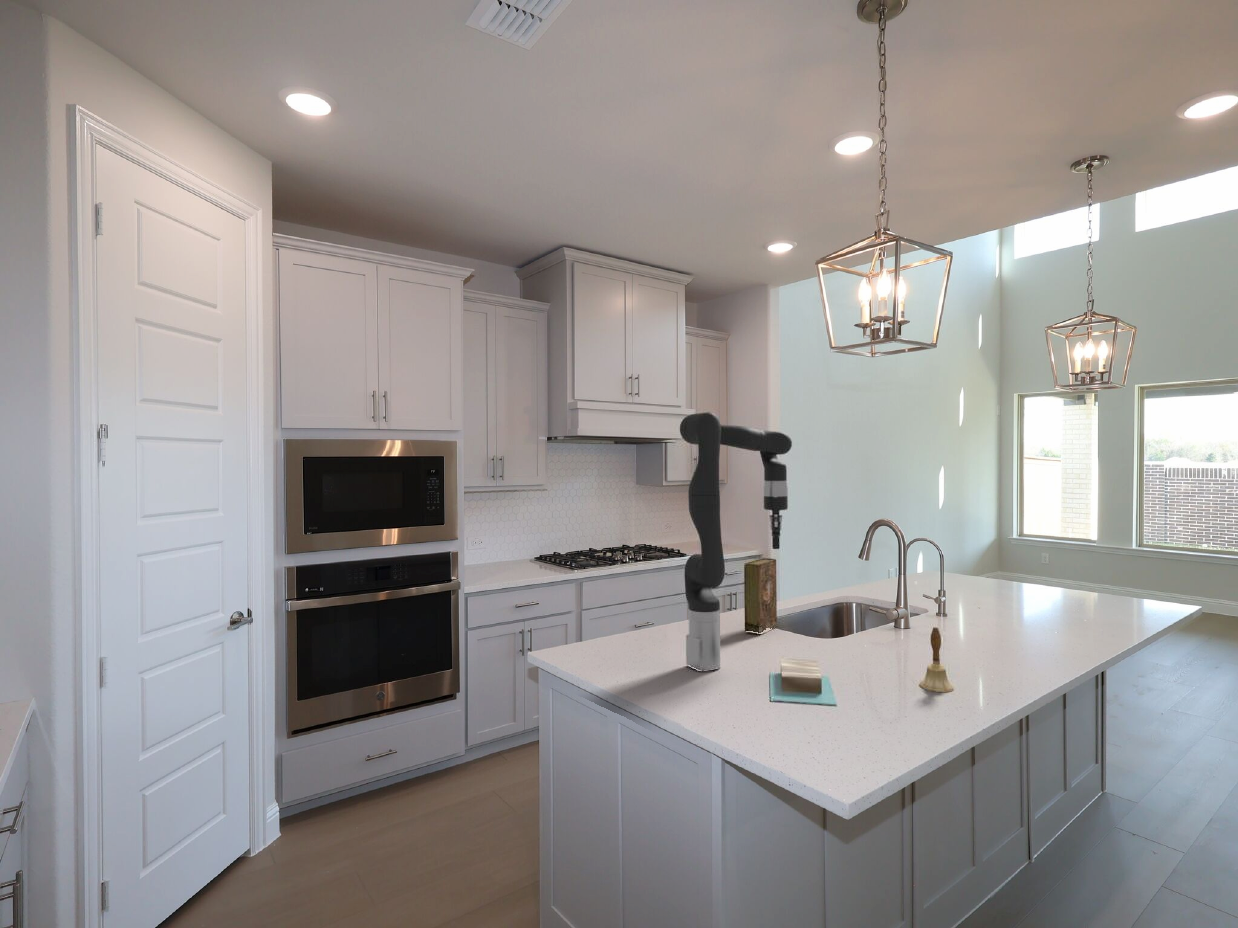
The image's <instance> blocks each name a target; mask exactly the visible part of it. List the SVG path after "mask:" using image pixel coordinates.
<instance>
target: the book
mask: <svg viewBox="0 0 1238 928" xmlns="http://www.w3.org/2000/svg"><path fill="white" fill-rule="evenodd" d="M743 573H744V578H743V581H744V583H743V586H744V587H743V588H744V589H743V591H744V593H743V594H744V595H743V596H744V632H745V631H753V632H758V633H761V632H763V631H764V630H766V628H770V629H771V628H772V630H774V629H776V628H778V621H777V620H778V618H777V617H778V609H777V605H778V604H777V602H778V601H777V595H778V594H777V593H778V592H777V559H776V558H770V557H769V558H767V557H766V558H765V557H763V558H759V559H756V560H751V561H748V562H744V566H743Z"/></svg>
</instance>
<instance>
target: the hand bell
mask: <svg viewBox="0 0 1238 928" xmlns="http://www.w3.org/2000/svg"><path fill="white" fill-rule="evenodd" d="M941 645H942V637H941V632H940V630H939V628H938V627H936V626H935V627H932V631H931V633H930V646H931V649H932V664H928V665H927V667H926V672H925V676H924V678H923V680H921V681H920V682H919V687H920V688H922V689H924V690H926V691H930V692H934V693H935V692H936V693H951V692H953V691H954V689H955V688H954V686H953V685H952V684H951V683H950V681H949V679H948V676H947V669H946V667H945V666H943V665H941V659H940V650H941ZM950 691H951V692H950Z"/></svg>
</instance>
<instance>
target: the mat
mask: <svg viewBox="0 0 1238 928" xmlns="http://www.w3.org/2000/svg"><path fill="white" fill-rule="evenodd" d="M771 673H772V674H770V673H769V690H770V691H769V693H770V694H769V695H770V696H769V697H771V698H770V700H773V701H772V702H774V701H786V702H785V703H788V702H800V703H799V704H803V703H806V704H805V705H807V704H808V705H818V704H822V706H836V707H837V706H838V705H837V701H836V700H837V699H836V697H835V693H834V691H833V687H832V683H831V681H830V676H829V675H821V678H822V694H819V693H803V692H787V691H782V683H781V672H771ZM773 673H774V674H773ZM771 691H772V692H771ZM772 697H774V698H772Z"/></svg>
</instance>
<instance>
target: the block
mask: <svg viewBox="0 0 1238 928" xmlns="http://www.w3.org/2000/svg"><path fill="white" fill-rule="evenodd" d="M780 673H781V683H782V691H787V692H803V693H819V694H822V678H821V676H822V674H821V670H820V667H819V663H818V660H817V659H802V658H801V659H800V658H799V659H798V658H786V657H785V658H780Z"/></svg>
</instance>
